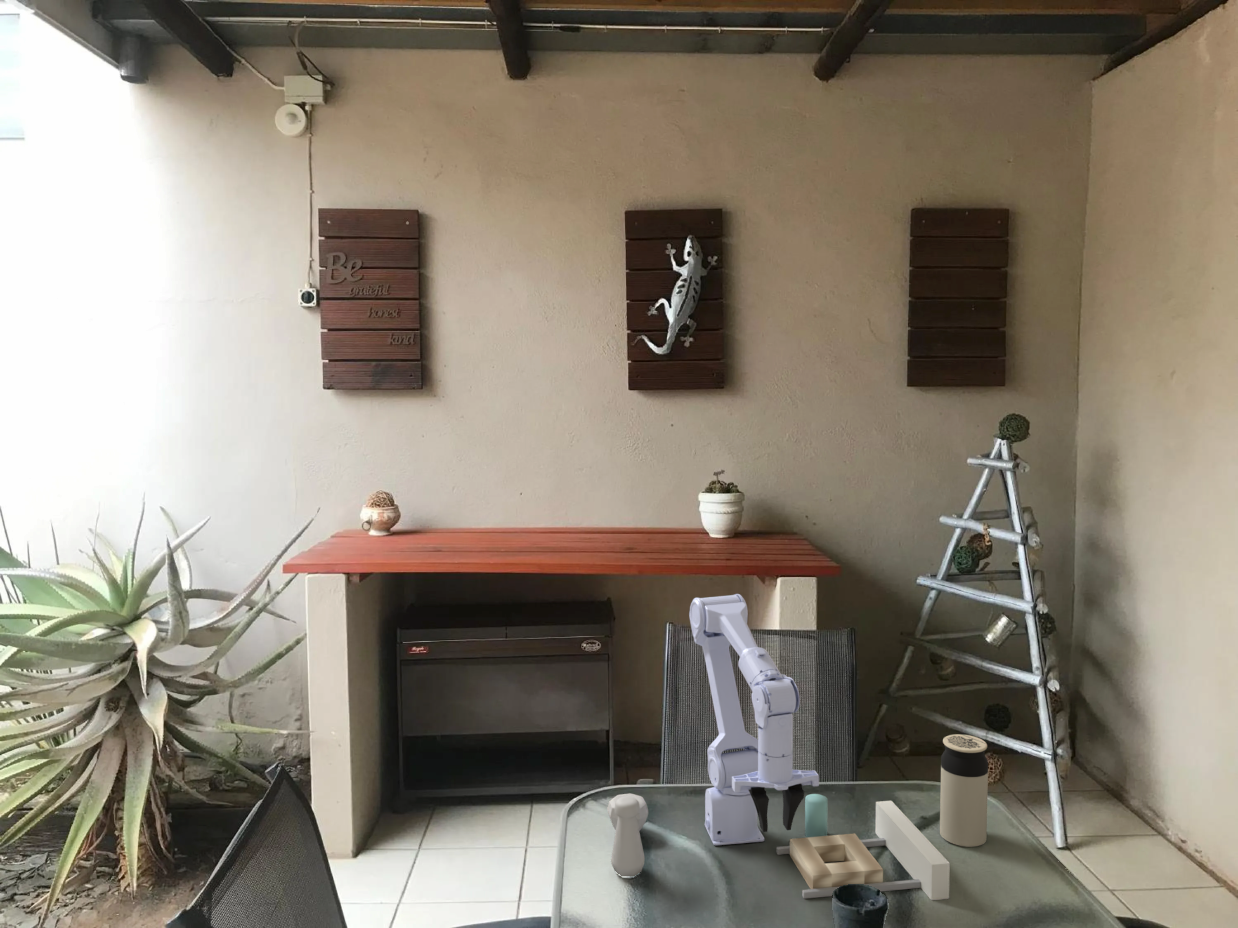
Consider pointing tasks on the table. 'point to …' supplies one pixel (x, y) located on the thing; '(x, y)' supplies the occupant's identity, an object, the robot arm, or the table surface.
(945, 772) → the travel mug
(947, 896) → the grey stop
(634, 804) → the salt shaker
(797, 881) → the table surface
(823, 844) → the socket block
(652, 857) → the table surface
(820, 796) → the dowel
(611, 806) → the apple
